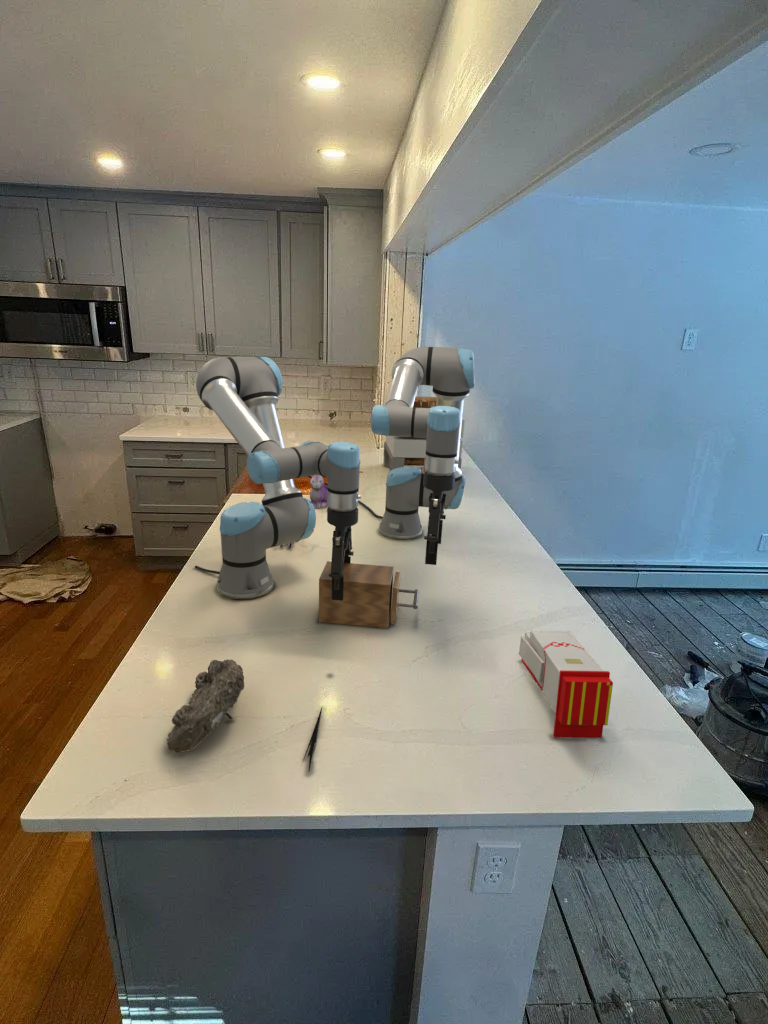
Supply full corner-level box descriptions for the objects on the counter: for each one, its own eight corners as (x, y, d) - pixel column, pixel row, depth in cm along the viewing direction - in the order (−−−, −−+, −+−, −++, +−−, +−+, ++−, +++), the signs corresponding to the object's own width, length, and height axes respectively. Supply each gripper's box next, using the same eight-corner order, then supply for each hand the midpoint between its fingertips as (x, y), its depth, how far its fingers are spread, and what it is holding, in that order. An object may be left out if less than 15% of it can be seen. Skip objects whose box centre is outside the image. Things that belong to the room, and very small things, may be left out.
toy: (565, 614, 131) (622, 678, 102) (559, 667, 134) (613, 744, 105) (513, 613, 131) (555, 677, 102) (509, 666, 134) (548, 744, 104)
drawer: (417, 607, 149) (420, 573, 146) (416, 626, 140) (419, 590, 137) (337, 600, 151) (338, 566, 147) (331, 618, 142) (332, 582, 139)
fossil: (192, 660, 117) (244, 628, 112) (224, 691, 120) (276, 661, 115) (142, 746, 98) (202, 712, 93) (182, 779, 101) (242, 748, 96)
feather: (331, 679, 122) (336, 673, 122) (307, 777, 96) (313, 769, 95) (324, 675, 122) (329, 669, 121) (298, 772, 95) (304, 764, 95)
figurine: (313, 510, 219) (313, 472, 214) (304, 501, 227) (304, 465, 222) (335, 507, 223) (336, 470, 218) (326, 499, 231) (326, 463, 226)
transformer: (382, 463, 289) (386, 382, 275) (445, 464, 293) (451, 384, 279) (390, 482, 257) (394, 392, 243) (460, 483, 261) (468, 394, 247)
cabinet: (391, 607, 151) (393, 566, 146) (387, 628, 141) (390, 585, 137) (326, 601, 152) (327, 561, 148) (318, 622, 142) (319, 578, 138)
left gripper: (351, 525, 126) (348, 612, 133) (364, 493, 147) (361, 570, 155) (317, 522, 126) (317, 610, 134) (335, 491, 148) (334, 568, 155)
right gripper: (452, 488, 124) (444, 575, 131) (458, 461, 147) (451, 536, 154) (418, 485, 125) (412, 572, 132) (429, 458, 148) (424, 533, 156)
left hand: (341, 588), depth 144 cm, fingers closed on cabinet, 10 cm apart
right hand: (433, 553), depth 143 cm, fingers open, 13 cm apart
